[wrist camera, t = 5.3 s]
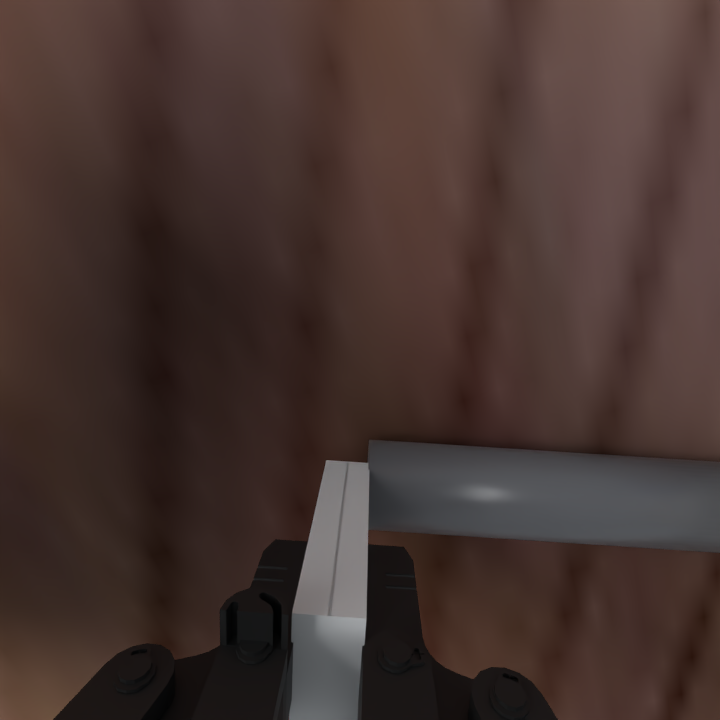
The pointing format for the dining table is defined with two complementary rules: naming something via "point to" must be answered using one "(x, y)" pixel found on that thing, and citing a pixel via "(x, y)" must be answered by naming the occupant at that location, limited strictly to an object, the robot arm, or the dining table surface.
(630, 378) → the dining table surface
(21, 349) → the dining table surface
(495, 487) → the plug
